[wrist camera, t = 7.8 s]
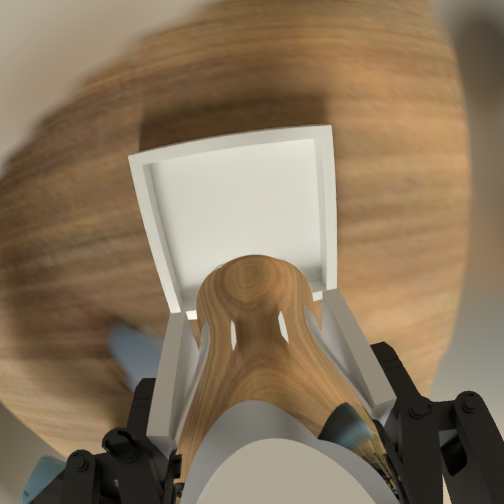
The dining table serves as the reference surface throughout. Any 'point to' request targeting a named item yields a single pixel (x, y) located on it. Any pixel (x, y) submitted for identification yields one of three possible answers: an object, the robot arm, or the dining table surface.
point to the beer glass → (274, 403)
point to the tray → (239, 205)
